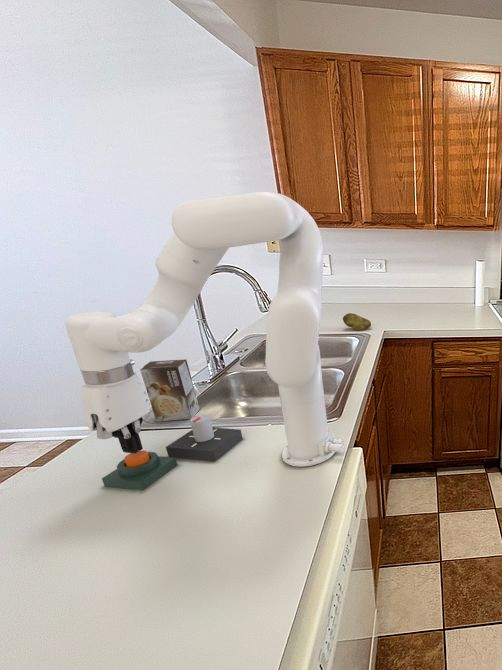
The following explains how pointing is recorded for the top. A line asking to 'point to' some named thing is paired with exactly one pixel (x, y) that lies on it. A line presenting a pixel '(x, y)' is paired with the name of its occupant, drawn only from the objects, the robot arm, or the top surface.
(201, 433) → the timer knob
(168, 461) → the block
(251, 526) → the top surface
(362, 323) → the potato
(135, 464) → the button
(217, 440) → the timer panel
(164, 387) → the food box
